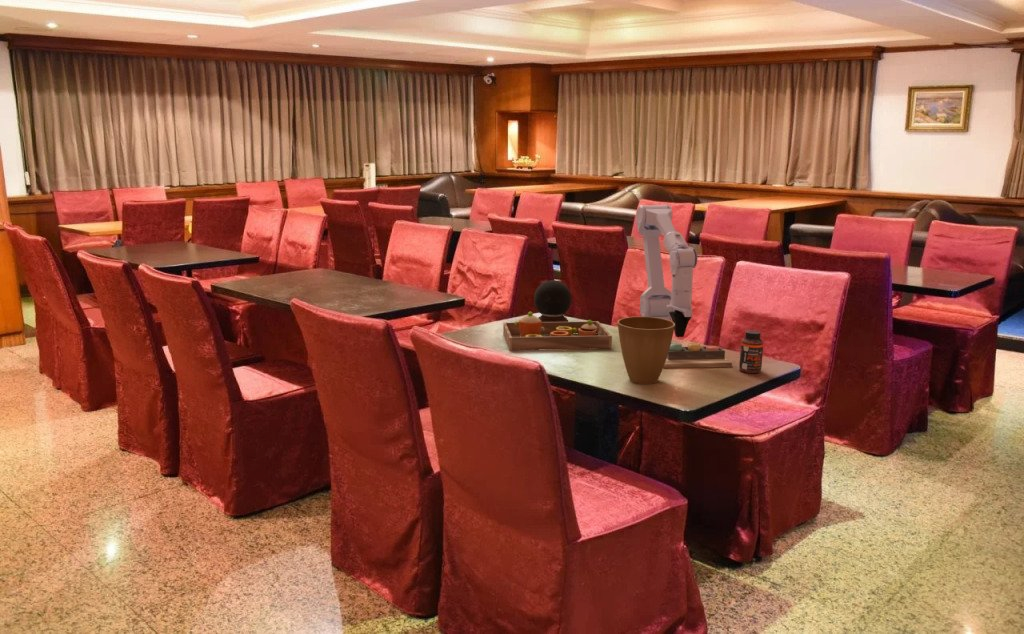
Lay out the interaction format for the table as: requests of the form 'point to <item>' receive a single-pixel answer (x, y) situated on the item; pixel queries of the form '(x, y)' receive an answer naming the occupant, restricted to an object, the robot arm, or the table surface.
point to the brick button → (712, 348)
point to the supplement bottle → (751, 352)
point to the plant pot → (645, 346)
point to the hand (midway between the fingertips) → (679, 336)
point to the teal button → (675, 347)
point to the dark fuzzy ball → (552, 301)
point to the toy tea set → (532, 328)
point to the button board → (696, 358)
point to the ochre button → (693, 347)
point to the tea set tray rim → (557, 337)
